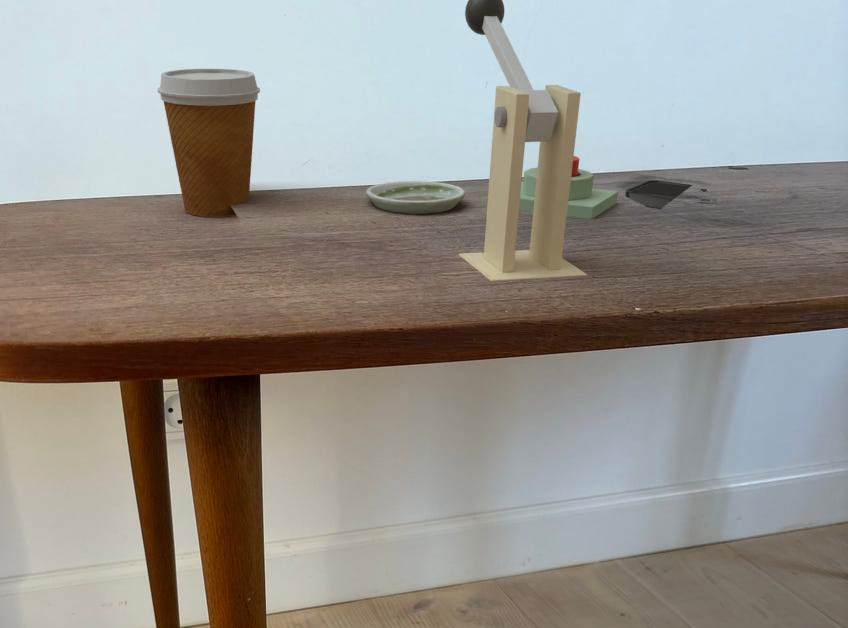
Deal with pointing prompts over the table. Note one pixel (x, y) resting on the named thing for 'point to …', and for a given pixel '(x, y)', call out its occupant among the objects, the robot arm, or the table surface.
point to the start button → (575, 166)
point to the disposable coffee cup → (211, 136)
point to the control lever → (512, 67)
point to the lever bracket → (549, 192)
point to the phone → (656, 192)
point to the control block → (571, 195)
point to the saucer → (442, 192)
